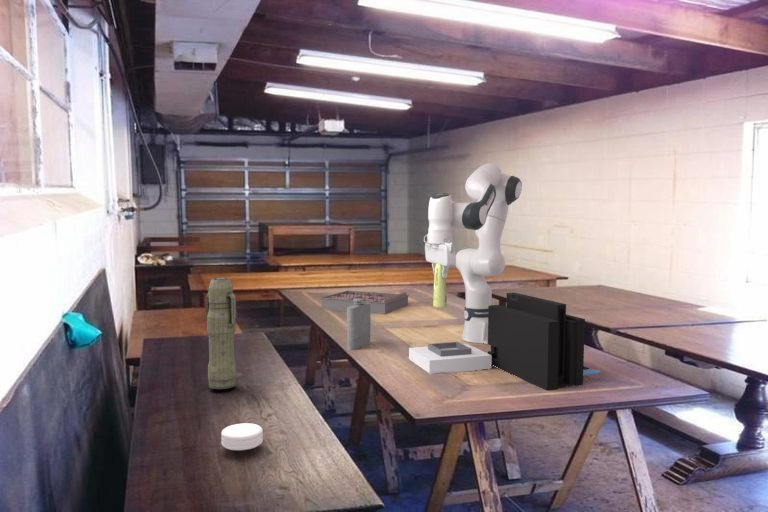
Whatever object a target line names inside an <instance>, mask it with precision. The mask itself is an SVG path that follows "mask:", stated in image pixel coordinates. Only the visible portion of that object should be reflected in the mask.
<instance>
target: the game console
mask: <svg viewBox="0 0 768 512" xmlns="http://www.w3.org/2000/svg"><path fill="white" fill-rule="evenodd" d="M505 301H506V303H505V304H506V306H505V305H501V304H494V305H490V306H488V344H487V345H489V346H490V350H489V351H487V353H488V354H490V355H492V362H491V365H494V366H496V367H498V368H500V369H502V370H504V371H503V372H505V371H506V372H505V373H507V372H508V373H507V374H509V373H510V375H512V374H513V375H512V376H514V375H515V376H514V377H516V376H517V378H519V379H521V380H522V381H525V382H527V383H529V384H532V385H534V386H537V387H539V388H542V389H544V390H547V391H551V390H557V388H558V389H559V387H560V388H566V386H568V387H574V386H573V385H575V387H578V386H579V385H580V386H584V376H590V375H596V374H600V373H602V371H601V370H598V369H590V367H587V366H585V365H584V361H585V360H584V359H585V355H584V354H585V334H586V333H585V330H586V329H585V328H586V319H585V318H582V317H579V316H574V315H570V314H567V303H564V302H563V303H562V302H558V301H554V300H549V299H545V298H540V297H536V296H532V295H527V294H522V293H518V292H507V293H506V300H505ZM496 367H495V368H496ZM498 368H497V369H498ZM500 369H499V370H500ZM502 370H501V371H502Z"/></svg>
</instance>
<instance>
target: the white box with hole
mask: <svg viewBox="0 0 768 512" xmlns="http://www.w3.org/2000/svg"><path fill="white" fill-rule="evenodd" d="M408 359H409V361H411V362H412V363H413V364H415V365H416V366H418V367H419V368H420V369H422V370H424V371H425V372H427V374H428V375H429V376H430V375H442V374H443V375H444V373H448V374H452V373H454V374H455V373H463V372H464V373H465V372H475V370H477V371H483V370H482V369H488V370H491V369H492V366H491V362H492V355H490V354H488V352H486V351H483V350H481V349H479V348H477V347H475V346H472V345H471V344H468V343H461V342H458V341H451V342H450V341H448V342H438V343H427V346H419V347H418V346H416V347H408ZM490 368H491V369H490Z"/></svg>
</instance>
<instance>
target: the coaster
mask: <svg viewBox="0 0 768 512" xmlns="http://www.w3.org/2000/svg"><path fill="white" fill-rule="evenodd" d="M263 432H264V430H263V428H262V427H261V425H259V424H255V423H252V422H251V423H250V422H249V423H248V422H247V423H245V422H243V423H235V424H231V425H228V426H226V427H224V428H223V429H222V430H221V433H220V434H221V438H220V439H221V442H220V443H221V446H222V447H224V448H225V449H227V450H231V451H246V450H251V449H255V448H256V447H258V446H260V445H261V444H262V443H263V440H264V438H263V436H264V435H263Z"/></svg>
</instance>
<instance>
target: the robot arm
mask: <svg viewBox="0 0 768 512" xmlns="http://www.w3.org/2000/svg"><path fill="white" fill-rule="evenodd" d="M464 186H465V192H466V194H467V196H468V197H469V198H470V199H471V200H473V201H474V202H456V201H454V200H452V194H450V193H445V192H443V193H435V194H432V195H431V196H430V197H429V201H428V210H427V211H428V212H427V214H428V215H427V219H428V228H427V232H428V233H427V234H426V235H425V236H423V242H424V243H425V244H424V253H425V255H424V257H425V260H426V262H427V263H431V267H432V270H433V271H432V273H433V275H434V276H435V265H436V264H439V265H442V268H443V271H442V273H441V277H443V278H446V279H447V278H448V277H449V276H448V272H449V270H450V267H456V269H457V270H458V272H459V273H460V275H461V276H462V277H461V278H462V280H463V283H464V284H463V285H464V292H465V306H464V311H463V313H464V314H463V317H464V324H463V331H462V335H461V340H462V341H463V342H468V343H472V344H473V343H475V344H483V343H484V344H483V345H488V306H490V305H492V304H493V303H492V302H493V296H492V294H493V290H492V288H491V286H490V285H489V284H488V283H487V280H486V278H485V277H494V276H499V275H500V274H502V273H503V272H504V269H505V267H506V260H505V257H504V255H503V254H502V252H501V239H502V235H503V231H504V228H505V224H506V221H507V217H508V213H509V206H510V205H512V203H514V202H515V201H517V200H518V199H519V197H520V195H521V193H522V187H523V182H522V181H521V178H519V177H517V176H515V175H510V174H509V175H508V174H505V173H502V170H501V169H500V167H499V165H497V164H495V163H492V162H488V163H487V162H486V163H485V164H482V165H480V166H479V167H478V168H477V169H475V170H474V171H473V172H472V173H471V174H470V175H469V176H468V178H467V179H466V182H465V185H464ZM454 229H459V230H462V229H463V230H471V231H475V236H476V238H477V239H478V247H477V248H470V247H469V248H463V249H461V250H459V251H457V253H456V247H455V245H454V244H453V241H454V240H453V239H454V238H453V236H454V235H453V234H454V232H453V230H454Z"/></svg>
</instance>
